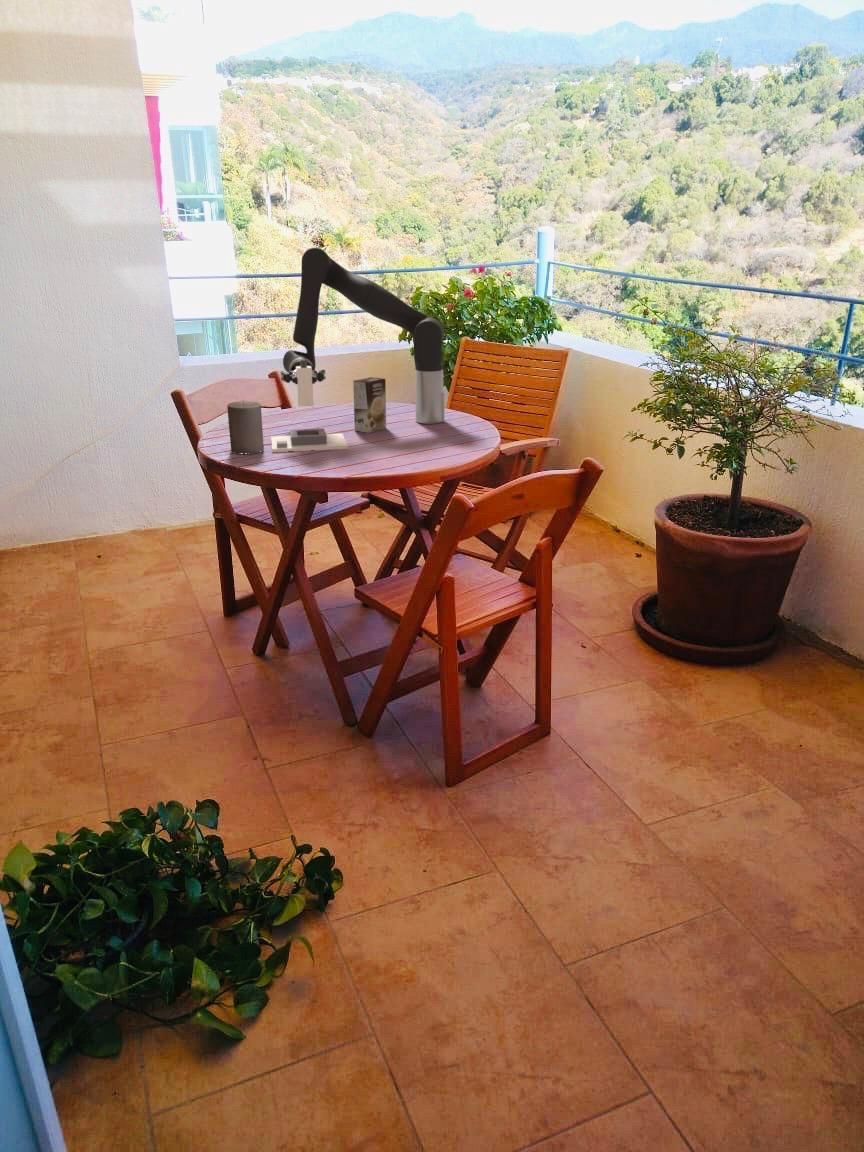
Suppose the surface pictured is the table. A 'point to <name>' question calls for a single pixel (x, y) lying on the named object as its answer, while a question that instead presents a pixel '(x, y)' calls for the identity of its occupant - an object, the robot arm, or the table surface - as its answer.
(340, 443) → the socket dock
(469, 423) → the table surface
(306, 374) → the plug
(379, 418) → the coffee box
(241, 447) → the pillar candle
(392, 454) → the table surface
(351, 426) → the table surface
